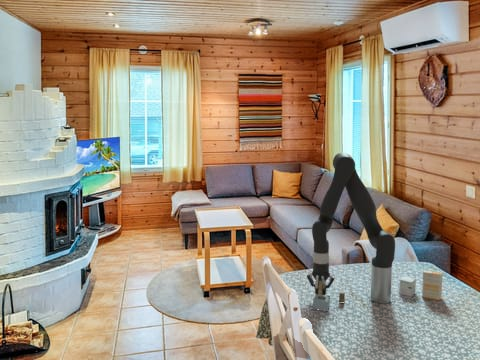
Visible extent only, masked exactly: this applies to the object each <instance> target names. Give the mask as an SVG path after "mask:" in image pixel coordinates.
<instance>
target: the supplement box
mask: <svg viewBox="0 0 480 360" xmlns="http://www.w3.org/2000/svg"><path fill="white" fill-rule="evenodd" d="M443 272H444V271H438V270H433V269H425V268H424V270H423V271H422V290H421V291H422V292H421V298H422V299H429V300H435V301H441V299H442V294H443V292H442V291H443Z"/></svg>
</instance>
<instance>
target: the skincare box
mask: <svg viewBox="0 0 480 360" xmlns="http://www.w3.org/2000/svg"><path fill="white" fill-rule="evenodd" d="M416 285H417V279H416V278H413V277H410V276H402V277H401V278H400V279H399V288H398V289H399V290H398V293H399V294H400V295H404V296H407V297H413V295H414V294H415V293H416V288H417V287H416Z"/></svg>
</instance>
